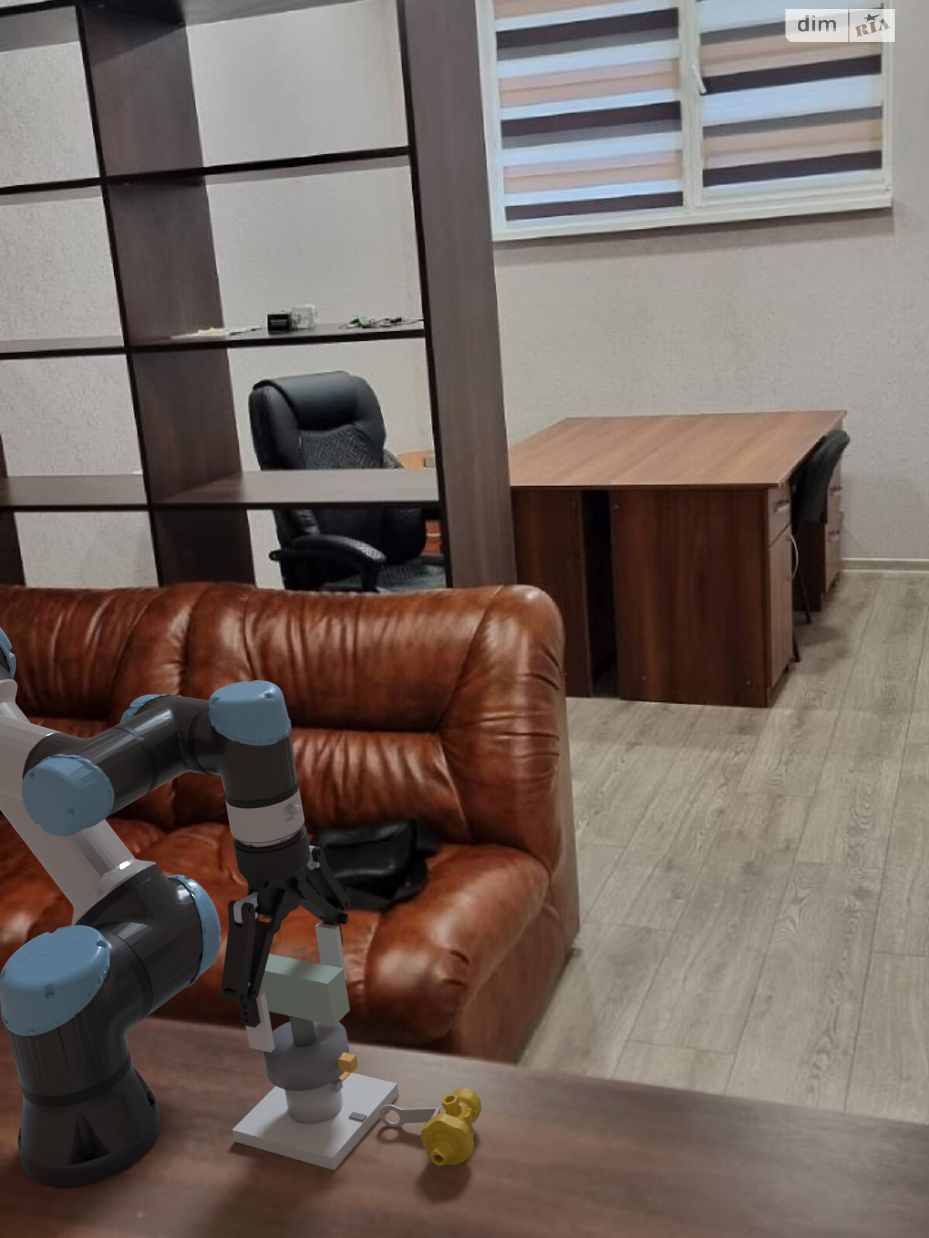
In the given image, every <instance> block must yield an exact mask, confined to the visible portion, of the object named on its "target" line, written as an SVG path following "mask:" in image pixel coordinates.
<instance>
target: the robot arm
mask: <svg viewBox="0 0 929 1238" xmlns="http://www.w3.org/2000/svg"><path fill="white" fill-rule="evenodd" d="M12 648H13V646H12V644H11V642H10V640H9V638H8V637H7V635H6V633H5V632H4V630H3V629H2V628H1V627H0V811H1V813H2V814H3V816H4V817H5V818H6V819H7V820H8V822H9V823H10V824H11V826H12V827H13V829H14V830H15V831H16V833H17V834H18V835H19V836H20V838H21V839H22V840H23V842H24V843H25V845H26V846H27V847H28V849H29V850H30V851H31V852H32V854H33V855H34V857H36V860H38V862H39V863H40V864H41V865H42V867H43V868H44V870H45V871H47V872H46V873H47V874H48V875H49V876H50V877H51V878H52V880H53V881H54V882H55V884H56V885H57V886H58V888H59V889H60V891H61V892H62V893H63V894H64V896H65V897H66V898H67V899H68V901H69V902H70V904H71V905H72V907H73V908H72V909H73V914H72V920H71V925H66V926H63V927H59V928H56V930H55V931H54V932H48V931H47V932H44V933H42V934H40V935H37V936H36V937H33V938H32V939H30V940H29V941H28V942H26V943H25V944H23V945H22V946H21V947H20V948H18V949H17V950H16V951H15V952H14V953H12V955H11V956H9V958H8V960H7V961H6V962H5V963H4V966H2V967H3V968H2V969H1V972H0V1015H1V1019H2V1022H3V1023H4V1024H3V1025H4V1026H5V1029H6V1031H7V1032H6V1033H7V1036H8V1040H9V1044H10V1045H9V1046H10V1049H11V1052H12V1057H13V1061H14V1065H15V1069H16V1073H17V1077H18V1081H19V1082H18V1083H19V1085H20V1089H21V1093H22V1103H21V1104H22V1105H21V1113H20V1115H21V1120H20V1121H21V1124H20V1128H19V1131H18V1134H17V1151H18V1156H19V1160H20V1163H21V1166H22V1169H23V1171H24V1173H25V1174H26V1175H27V1177H29V1178H30V1179H31V1178H32V1179H31V1180H33V1181H35V1182H37V1183H40V1184H42V1185H44V1186H50V1187H58V1188H59V1187H60V1188H67V1187H68V1188H69V1187H78V1186H85V1185H88V1184H93V1183H96V1182H99V1181H101V1180H102V1181H103V1180H106V1179H108V1178H110V1177H113V1176H114V1175H117V1174H119V1173H120V1172H123V1171H125V1170H126V1169H127V1168H129V1167H131V1166H133V1164H136V1162H138V1161H139V1160H140V1159H142V1157H144V1155H146V1153H148V1151H150V1150H151V1148H152V1147H153V1145H155V1143H156V1141H157V1139H158V1137H159V1135H160V1132H161V1130H162V1129H161V1128H162V1119H161V1113H160V1108H159V1104H158V1100H157V1099H156V1096H155V1095H154V1093H153V1092H152V1090H151V1088H150V1087H149V1086H148V1084H147V1082H146V1081H145V1080H144V1078H143V1076H142V1075H141V1073H140V1072H139V1070H138V1069H137V1067H136V1066H135V1064H134V1063H133V1061H132V1057H131V1053H130V1052H131V1051H130V1049H129V1048H130V1047H129V1043H128V1037H127V1033H128V1031H129V1030H130V1029H132V1028H133V1027H134V1026H136V1025H137V1024H138V1023H139V1022H141V1021H142V1020H144V1019H145V1018H147V1017H148V1016H149V1015H150V1014H151V1013H153V1012H154V1011H156V1010H157V1009H158V1008H160V1007H161V1006H162V1005H164V1004H165V1003H166V1002H168V1001H169V1000H170V999H171V998H173V997H174V996H176V995H177V994H178V993H180V992H181V991H182V990H184V989H187V988H189V987H191V986H192V985H193V984H194V982H196V981H197V980H198V979H199V977H201V975H202V974H204V973H205V972H206V971H207V970H208V969H209V968H210V967H212V965H213V964H214V963H215V961H216V959H217V958H218V955H219V952H220V949H221V944H222V937H221V932H222V928H221V923H220V919H219V918H220V917H219V915H218V911H217V909H216V906H215V904H214V902H213V901H212V899H211V897H210V895H209V894H208V892H207V891H206V889H204V887H202V886H201V884H200V883H198V882H197V881H196V880H194V879H193V878H188V877H187V875H183V874H175V875H168V876H166V874H165V873H164V872H163V870H162V869H161V868H160V867H159V866H158V864H157V863H156V862H155V861H149V860H142V859H141V860H140V859H137V858H135V856H134V855H133V854H132V852H131V851H130V850H129V849H128V847H127V846H126V845H125V843H124V842H123V841H122V840H121V838H120V837H119V836H118V834H117V833H116V832H115V830H114V829H113V828H112V827H111V825H110V824H109V823H108V821H107V820H106V819H107V818H108V817H110V816H111V815H113V814H115V813H117V812H118V811H120V810H122V809H123V808H125V807H126V806H128V805H130V804H132V803H133V802H135V801H137V800H139V799H140V798H141V797H145V796H146V795H148V794H149V793H151V792H153V791H155V790H156V789H159V787H160V788H161V786H163V785H166V784H167V783H169V782H170V781H172V780H174V779H175V778H177V777H179V776H181V775H183V774H186V773H194V774H195V773H198V774H201V775H209V776H219V777H220V778H221V782H222V788H223V793H224V800H225V805H226V810H227V816H228V823H229V829H230V833H231V836H232V837H233V838H234V839H233V849H234V854H235V859H236V865H237V870H238V872H239V873H240V874H241V876H242V877H243V879H245V881H246V883H247V892H246V893H247V894H246V897H244V898H241V900H234V899H231V900H229V901H228V904H227V915H228V931H227V939H226V945H225V947H226V948H225V953H224V963H223V971H222V980H221V984H220V985H221V986H220V987H221V988H220V999H221V1000H224V1001H228V1002H231V1003H237V1004H238V1008H239V1014H240V1015H239V1016H240V1020H241V1023H242V1024H243V1026H245V1029H246V1035H247V1041H248V1046H249V1048H251V1049H255V1050H258V1051H262V1052H263V1051H267V1052H272V1051H273V1050H274V1049H275V1045H274V1039H273V1034H272V1032H273V1029H272V1024H271V1019H270V1011H268V1006H267V1000H266V995H265V993H264V992H259V991H260V987H261V983H262V979H263V976H264V972H265V968H266V964H267V960H268V956H269V954H271V953H270V952H271V949H272V944H273V941H274V937H275V934H276V933H278V932H279V931H280V929H281V926H282V922H283V921H284V920H285V919H286V918H287V917H288V916H289V914H290V913H291V912H293V911H296V910H297V909H298V908H299V907H300V906H301V907H302V908H303V909H305V910H306V911H307V912H309V913H310V914H311V915H312V916H314V917H315V918H316V919H318V920H319V921H322V922H318V923H317V924H315V925H314V928H315V930H314V931H315V934H316V941H317V948H318V953H319V959H320V964H323V965H328V966H333V967H338V968H343V969H344V975H345V981H347V979H348V974H347V973H348V972H347V969H346V962H345V955H344V949H343V946H344V938H343V933H342V925H344V926H345V925H347V924H348V922H349V914H348V913H346V912H345V911H349V910H350V909H351V907H352V904H351V903H352V902H351V900H350V898H349V897H348V895H347V893H346V892H345V890H344V888H343V887H342V885H341V884H340V882H339V880H338V879H337V877H336V876H335V874H334V872H333V871H332V869H331V867H330V866H329V865H328V863H327V858H326V854H325V849H324V848H323V847H321V846H313V845H310V843H309V842H310V841H309V836H308V831H307V830H308V829H307V827H306V826H305V825H304V824H305V815H304V811H303V804H302V799H301V793H300V792H301V791H300V785H299V783H300V782H299V779H298V775H297V774H298V773H297V765H296V760H295V753H294V745H293V737H292V722H291V719H290V717H289V714H288V710H287V707H286V706H287V705H286V703H285V697H284V694H283V692H282V690H281V688H280V687H279V686H278V685H276V684H275V683H273V682H271V681H267V680H258V679H257V680H251V681H246V680H245V681H238V682H233V683H230V684H227V685H224V686H222V687H220V688H218V689H217V690H215V691H214V692H213V693H212V694H211V695H210V697H209V699H203V698H202V699H201V698H195V697H189V696H188V697H186V696H182V695H178V694H173V693H171V694H169V693H164V694H163V693H162V694H145V695H142V696H140V697H138V698H136V699H134V700H133V701H132V702H130V705H129V707H128V708H127V709H126V710H125V711H124V712H123V714H122V716H121V719H120V722H119V723H117V724H116V725H114V726H111V727H109V728H107V729H106V730H104V731H101V732H100V733H98V734H96V735H93V736H91V737H88V738H87V737H86V738H83V737H79V736H76V735H72V734H68V733H65V732H62V731H59V730H55V729H51V728H48V727H45V726H42V725H37V724H35V723H31V721H30V720H29V719H28V718H27V716H26V715H25V714H24V712H23V711H22V710H21V709H20V707H19V706H18V705H17V703H16V696H17V691H18V684H17V683H18V682H16V681H15V679H14V677H15V673H16V668H17V665H16V664H17V663H16V660H17V659H16V655H15V654H14V653H13V652H11V651H10V650H12ZM307 877H308V878H309V880H310V882H311V884H313V886H314V887H312V885H311V884H309V883H308V881H307V880H306V878H307ZM317 892H318V893H317ZM344 912H345V913H344ZM260 915H261V916H262V917H263V918H264V919H266V920H269V922H268V921H263V920H259V919H260ZM249 983H250V986H249Z"/></svg>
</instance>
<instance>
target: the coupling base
mask: <svg viewBox="0 0 929 1238" xmlns="http://www.w3.org/2000/svg"><path fill="white" fill-rule="evenodd" d="M399 1096H400V1093H399V1088H398V1083H395V1082H392V1081H388V1080H383V1079H380V1078H375V1077H371V1076H367V1075H363V1074H359V1073H355V1072H353V1073H349V1072H344V1073H343V1074H342V1075H341V1076H340V1077H339V1078H337V1079H336V1080H335V1081H333V1082H331V1083H329V1084H327V1085H325V1086H322V1087H319V1088H316V1089H312V1090H306V1091H290V1090H285V1089H282V1088H279V1087H277V1086H275V1085H274V1087H273V1088H272V1089H271V1090H270V1091H269V1092H268V1093H267V1094H266V1095H265V1096H264V1097H263V1098H262V1099H261V1100H260V1101H259V1102H258V1103H257V1104H256V1105H255V1106H254V1107H252V1110H250V1111H249V1112H248V1114H246V1115H245V1116H244V1117H243V1118H242V1119H241V1120H240V1121H239V1122H238V1123H237V1124H236V1125H235V1126H234V1127H233V1128H232V1136H233V1140H234V1143H235V1142H236V1143H239V1144H241V1145H245V1146H249V1147H253V1148H256V1149H260V1150H262V1151H266V1152H269V1153H272V1154H276V1155H281V1156H282V1157H283V1156H284V1157H287V1158H290V1159H293V1160H298V1161H301V1162H305V1163H308V1164H311V1165H315V1166H318V1167H322V1168H325V1169H329V1170H333V1171H335V1170H336V1169H337V1168H338V1167H339V1165H341V1163H342V1162H343V1161H344V1160H345V1159H346V1158H347V1156H348V1155H349V1154H350V1153H351V1151H352V1150H353V1149H354V1148H355V1147H356V1146H357V1144H358V1143H359V1142H360V1141H361V1140H362V1139H363V1138H364V1136H365V1135H366V1134H367V1133H368V1132H369V1131H370V1130H371V1128H372V1127H373V1126H374V1125H375V1124H376V1122H377V1121H378V1120H379V1119H381V1118H380V1110H381V1108H382V1107H383V1106H384V1105H388V1104H391V1105H393V1102H395V1100H396V1099H397V1098H398V1097H399Z"/></svg>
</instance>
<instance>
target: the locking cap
mask: <svg viewBox="0 0 929 1238" xmlns="http://www.w3.org/2000/svg"><path fill="white" fill-rule="evenodd" d="M249 986H250V983H249ZM259 992H264V993H265V995H266V1000H267V1006H268V1012H269V1013H270V1012H271V1013H275V1014H280V1015H284V1016H288V1017H289V1019H288V1020H289V1021H288V1022H285V1023H283V1024H282V1025H280V1026H278V1027H277V1028H274V1029H273V1030H272V1034H273V1039H274V1045H275V1049H274V1050H273V1051H272V1052H267V1051H263V1050H262V1052H263V1058H264V1063H265V1068H266V1073H267V1074H266V1075H267V1078H268V1080H269V1081H270V1082H271V1083H272V1084H273V1085H274V1087H275V1086H277V1087H279V1088H282V1089H285V1090H290V1091H306V1090H312V1089H316V1088H319V1087H322V1086H325V1085H327V1084H329V1083H331V1082H333V1081H335V1080H336V1079H337V1078H339V1077H340V1076H341V1075H342V1074H343V1073H344V1072H349V1073H355V1070H356V1069H357V1068H358V1067H359V1063H358V1058H357V1054H353V1053H350V1047H349V1042H348V1041H349V1040H348V1035H347V1034H348V1033H347V1030H346V1028H345V1026H344V1025H343V1024H342V1023H341V1022H340V1021H341V1020H342V1019H343V1018H344V1017H345V1016H346V1015H347V1014H349V1012H350V1011H351V1009H350V1002H349V995H348V994H349V993H348V990H347V983H346V980H345V975H344V969H343V968H338V967H333V966H328V965H323V964H321V963H316V962H311V961H308V960H303V959H298V958H292V957H288V956H282V955H277V954H271V953H269V956H268V960H267V964H266V968H265V972H264V976H263V979H262V983H261V987H260V991H259Z"/></svg>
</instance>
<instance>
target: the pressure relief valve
mask: <svg viewBox="0 0 929 1238" xmlns="http://www.w3.org/2000/svg"><path fill="white" fill-rule="evenodd" d="M440 1103H441V1105H442V1109H444V1110H445V1111H444V1112H441V1107H439V1106H435V1107H412V1108H410V1107H409V1108H403V1107H399V1106H397V1105H394V1104H388V1105H384V1106H383V1107H382V1108H381V1110H380V1118H379V1119H380V1120H381V1122H382V1123H383V1124H384V1125H386V1126H387V1127H391V1128H392V1127H393V1128H401V1127H403V1126H404V1125H405V1124H416V1123H418V1124H419V1123H424V1125H423V1127H422V1129H421V1132H420V1139H421V1143H422V1147H423V1149H424V1151H425V1153H426V1154H427V1155H428V1157H430V1161H431V1162H432V1164H435V1165H436V1166H437V1167H443V1166H454V1165H457V1166H459V1165H461V1164H462V1163H464V1162H465V1161H466V1160H468V1159H469V1158H470V1157H471V1155H472V1153H473V1151H474V1149H475V1144H476V1143H475V1141H474V1137H475V1131H474V1128H473V1124H474V1123H475V1122H476V1121H477V1120H478V1118H479V1116H480V1115H481V1112H482V1102H481V1098H480V1097H479V1096H478V1094H477V1093H476V1091H475V1090H473V1089H471V1088H466V1087H465V1088H464V1087H463V1088H462V1087H461V1088H457V1089H456V1090H454V1091H452V1093H450V1094H446V1095H445V1096H444V1097H443V1098H442V1099H441V1102H440ZM387 1111H394V1112H395V1113H396V1114H397V1115H398V1116H399V1120H398V1121H397V1122H392V1121H390V1120H389V1119H388V1118H387V1115H386V1112H387ZM473 1136H474V1137H473Z"/></svg>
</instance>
